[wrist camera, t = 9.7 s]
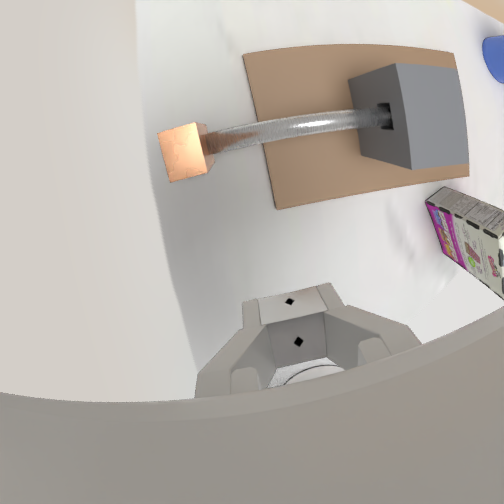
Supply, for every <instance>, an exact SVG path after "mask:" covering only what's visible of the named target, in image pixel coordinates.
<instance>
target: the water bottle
mask: <svg viewBox="0 0 504 504" xmlns="http://www.w3.org/2000/svg"><path fill="white" fill-rule="evenodd" d="M482 50H483V56H484V60H485V63H486V65H487V67H488V69H489V71H490V73H491V74H492V76H493V77H494V78H495V79H496V80H497V81H498V82H500V83H504V35H502V36H495V37H489V38H486V39H485V40H484V42H483V45H482Z"/></svg>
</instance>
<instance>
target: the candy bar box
mask: <svg viewBox="0 0 504 504" xmlns="http://www.w3.org/2000/svg"><path fill="white" fill-rule="evenodd" d="M425 203H426V205H427V208H428V210H429V213H430V216H431V218H432V221H433V223H434V226H435V229H436V232H437V235H438V238H439V241H440V244H441V247H442V250H443V253H444V254H445V255H446V256H448V257H449V258H450V259H452V260H453V261H454V262H456V263H457V264H459V265H460V266H461V267H463V268H464V269H465V270H467V271H468V272H469V273H471V274H472V275H473V276H475V277H476V278H477V279H478V280H480V281H481V282H482V283H483V284H485V285H486V286H487V287H488V288H490V289H491V290H492V291H493V292H494V293H496V294H497V295H498V296H499V297H500V298H502V299H503V300H504V211H503V210H501V209H499V208H497V207H495V206H492V205H490V204H488V203H485V202H482V201H480V200H478V199H476V198H473V197H471V196H468V195H466V194H463V193H461V192H458V191H455V190H453V189H450V188H447V187H443V188H441V189H440V190H439V191H438V192H437V193H435V194H434V195H433V196H431V197H430V198H429V199H428V200H426V201H425Z"/></svg>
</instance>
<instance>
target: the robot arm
mask: <svg viewBox="0 0 504 504" xmlns="http://www.w3.org/2000/svg"><path fill="white" fill-rule="evenodd" d="M242 312H243V329H240V330H238V331H237V333H236V334H235V335H234V336H233V337H232V338H231V339H230V340H229V341H228V342H227V343H226V344H225V346H224V347H223V348H222V349H221V350H220V351H219V352H218V353H217V354H216V355H215V356H214V357H213V358H212V359H211V360H210V361H209V363H208V364H207V365H206V366H205V367H204V368H203V369H202V370H201V371H200V372H199V373H198V375H197V383H196V390H195V397H194V399H184V400H172V401H154V402H81V401H65V400H52V399H42V398H34V397H27V396H19V395H13V394H8V393H2V392H0V504H504V306H503V307H502V308H500V309H498V310H496V311H494V312H492V313H490V314H488V315H486V316H485V317H483V318H480V319H479V320H476V321H474V322H472V323H470V324H468V325H466V326H464V327H462V328H460V329H458V330H455V331H453V332H451V333H449V334H446V335H444V336H442V337H439V338H437V339H434V340H432V341H429V342H427V343H425V344H422V343H421V342H420V341H419V340H418V338H417V337H416V336H415V334H414V333H413V332H412V331H411V329H410V328H409V327H408V326H407V325H404V324H401V323H399V322H396V321H393V320H390V319H387V318H384V317H381V316H378V315H376V314H373V313H370V312H367V311H364V310H361V309H359V308H356V307H353V306H350V305H347V306H345V305H344V304H343V302H342V300H341V299H340V297H339V296H338V294H337V292H336V291H335V289H334V288H333V286H332V284H331V283H325V284H322V285H318V286H314V287H310V288H306V289H302V290H298V291H294V292H290V293H284V294H279V295H274V296H269V297H264V298H258V299H252V300H248V301H243V303H242ZM325 357H327V358H328V359H330V360H331V361H333V362H334V363H335V364H337V365H338V366H340V367H337V366H320V367H315V368H311V369H308V370H306V371H303V372H301V373H299V374H297V375H296V376H294V377H293V378H291V379H290V380H289V381H288V382H287V383H286V384H285V385H282V386H277V387H272V388H267V387H268V385H269V383H270V381H271V379H272V378H273V376H274V374H275V372H276V369H277V368H281V367H285V366H290V365H294V364H298V363H302V362H307V361H311V360H316V359H320V358H325Z"/></svg>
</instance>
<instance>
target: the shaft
mask: <svg viewBox="0 0 504 504" xmlns="http://www.w3.org/2000/svg"><path fill="white" fill-rule="evenodd" d="M392 125H393V121H392V114H391V108H390V107H371V108H358V109H346V110H336V111H327V112H319V113H311V114H304V115H297V116H291V117H285V118H279V119H273V120H268V121H262V122H257V123H252V124H247V125H242V126H238V127H233V128H229V129H224V130H220V131H216V132H212V133H208V131H207V127H206V125H205V124H201V123H196V122H194V123H191V124H187V125H184V126H180V127H177V128H173V129H170V130H167V131H163V132H160V133H157V135H158V139H159V143H160V146H161V150H162V154H163V158H164V162H165V166H166V169H167V173H168V177H169V180H170V183H171V182H174V181H178V180H182V179H185V178H189V177H193V176H197V175H201V174H205V173H208V171H209V170H210V168H211V167H212V165H213V164H214V163H215V160H214V156H213V154H216V153H220V152H224V151H228V150H233V149H237V148H242V147H246V146H251V145H256V144H261V143H266V142H271V141H276V140H282V139H287V138H293V137H299V136H305V135H312V134H319V133H326V132H333V131H341V130H349V129H358V128H368V127H379V126H392Z"/></svg>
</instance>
